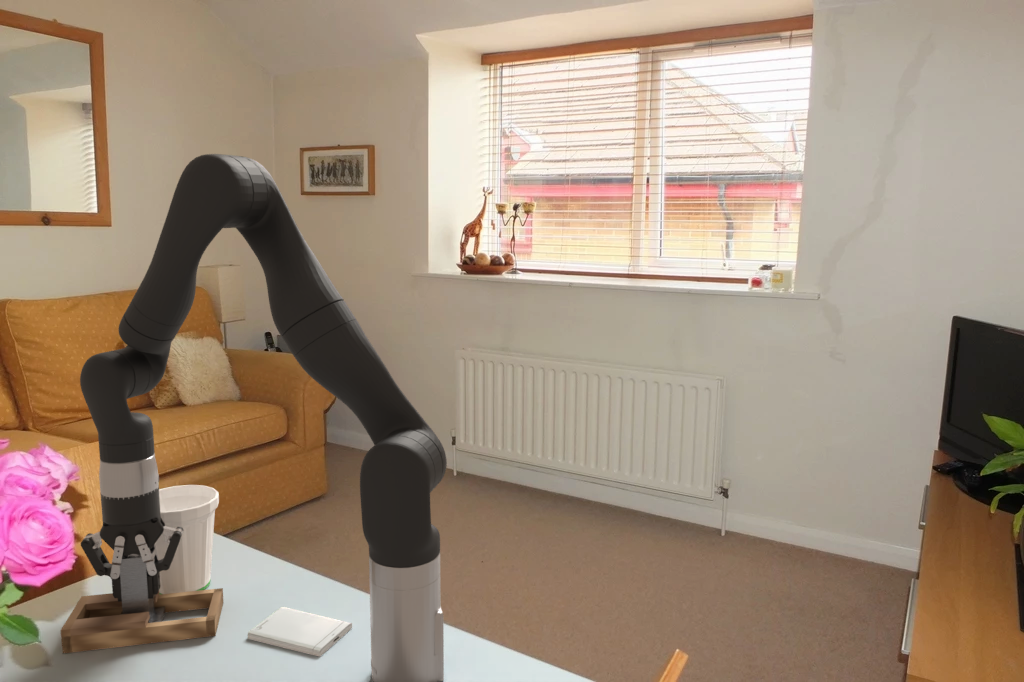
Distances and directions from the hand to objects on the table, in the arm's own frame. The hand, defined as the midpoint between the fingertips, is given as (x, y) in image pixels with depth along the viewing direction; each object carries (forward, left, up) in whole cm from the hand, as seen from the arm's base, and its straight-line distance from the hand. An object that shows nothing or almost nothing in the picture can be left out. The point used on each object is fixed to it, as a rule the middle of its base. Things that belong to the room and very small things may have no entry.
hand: (137, 597), depth 112 cm
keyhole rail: (-1, 0, -5) cm, 5 cm away
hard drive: (-23, +7, -5) cm, 25 cm away
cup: (-4, -12, -5) cm, 14 cm away
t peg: (0, 0, -5) cm, 5 cm away
